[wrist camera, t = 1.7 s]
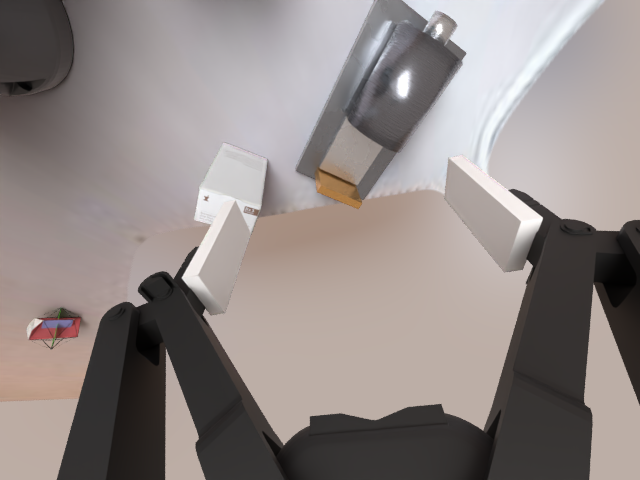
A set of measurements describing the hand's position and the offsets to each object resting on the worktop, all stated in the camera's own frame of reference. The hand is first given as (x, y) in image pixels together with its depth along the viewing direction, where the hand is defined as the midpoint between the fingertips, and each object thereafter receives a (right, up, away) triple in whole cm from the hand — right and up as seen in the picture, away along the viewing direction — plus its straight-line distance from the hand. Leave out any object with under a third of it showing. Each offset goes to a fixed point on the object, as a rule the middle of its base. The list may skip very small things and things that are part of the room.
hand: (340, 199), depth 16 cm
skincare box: (-12, +8, +19) cm, 23 cm away
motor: (+5, +13, +15) cm, 21 cm away
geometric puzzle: (-53, -18, +37) cm, 67 cm away
